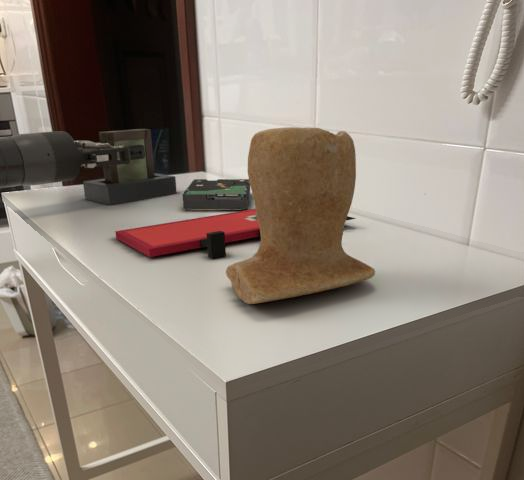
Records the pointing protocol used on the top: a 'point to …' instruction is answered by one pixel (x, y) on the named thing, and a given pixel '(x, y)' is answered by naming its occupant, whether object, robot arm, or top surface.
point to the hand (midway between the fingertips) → (128, 149)
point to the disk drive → (217, 194)
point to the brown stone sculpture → (299, 215)
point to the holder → (129, 189)
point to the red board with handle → (194, 234)
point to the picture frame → (134, 169)
